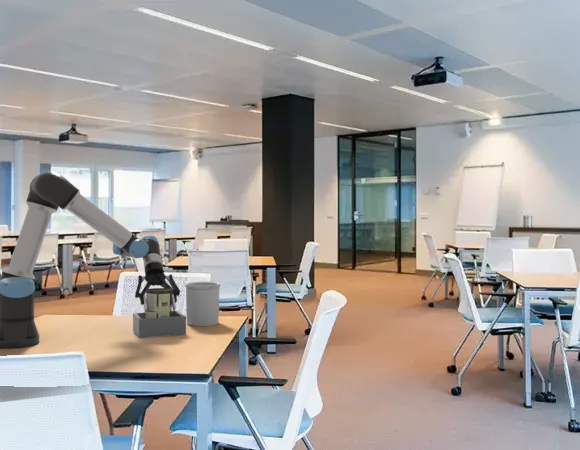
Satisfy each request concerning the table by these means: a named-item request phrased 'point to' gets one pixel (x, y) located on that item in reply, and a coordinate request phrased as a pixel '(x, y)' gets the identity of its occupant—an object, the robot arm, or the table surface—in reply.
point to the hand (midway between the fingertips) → (160, 309)
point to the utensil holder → (202, 303)
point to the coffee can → (159, 303)
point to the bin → (159, 325)
